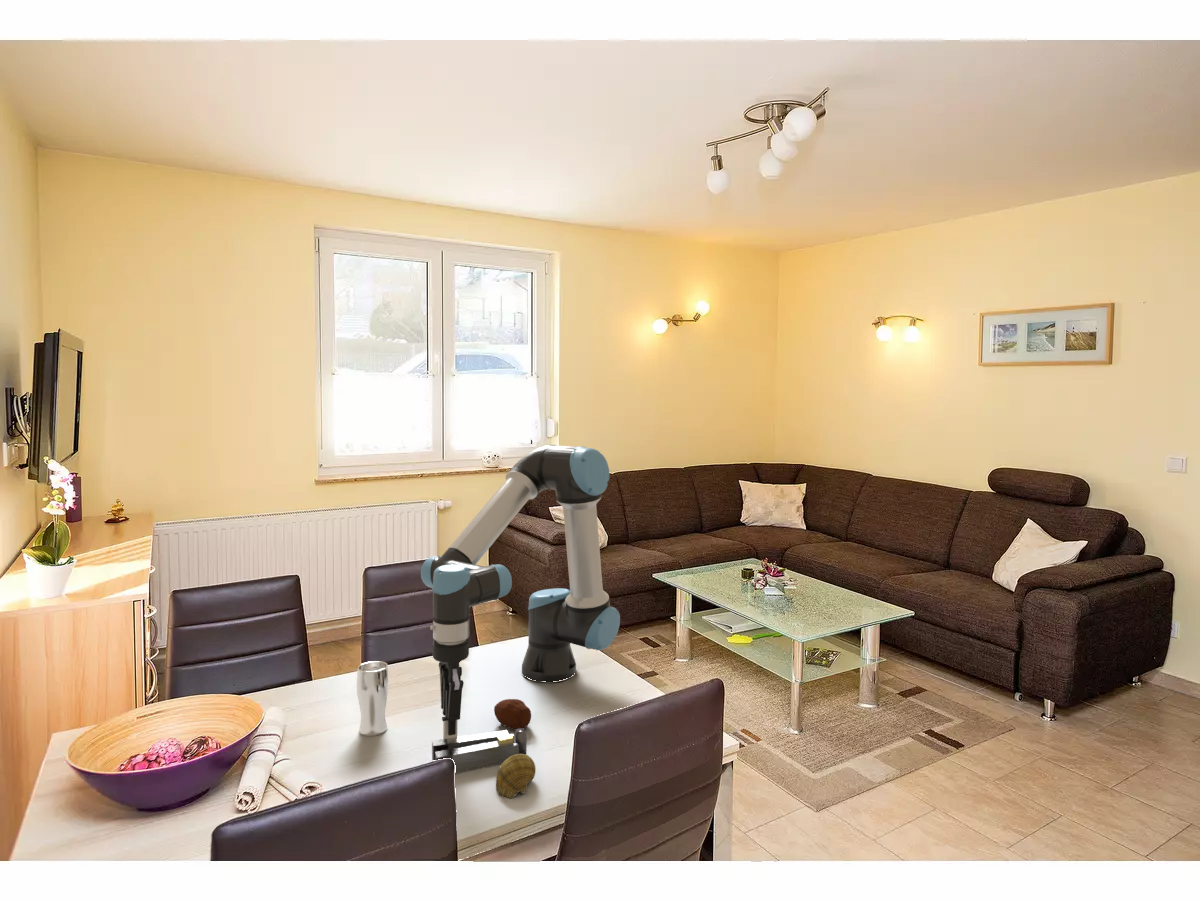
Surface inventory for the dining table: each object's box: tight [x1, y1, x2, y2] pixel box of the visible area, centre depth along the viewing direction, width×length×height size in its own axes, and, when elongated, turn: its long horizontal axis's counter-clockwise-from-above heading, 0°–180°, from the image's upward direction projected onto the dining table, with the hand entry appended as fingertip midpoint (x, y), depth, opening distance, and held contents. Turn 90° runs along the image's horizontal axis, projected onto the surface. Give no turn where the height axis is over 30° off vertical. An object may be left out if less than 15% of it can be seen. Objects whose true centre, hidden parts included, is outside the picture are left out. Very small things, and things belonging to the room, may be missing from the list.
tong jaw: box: [431, 729, 515, 760], centre depth 152 cm, size 17×2×4 cm, turn 110°
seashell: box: [495, 754, 536, 800], centre depth 141 cm, size 10×7×8 cm
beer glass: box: [356, 660, 390, 737], centre depth 163 cm, size 7×7×15 cm
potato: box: [493, 698, 532, 731], centre depth 167 cm, size 7×9×6 cm
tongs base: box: [435, 728, 528, 774], centre depth 150 cm, size 20×4×5 cm, turn 114°
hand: (450, 746), depth 153 cm, fingers closed
